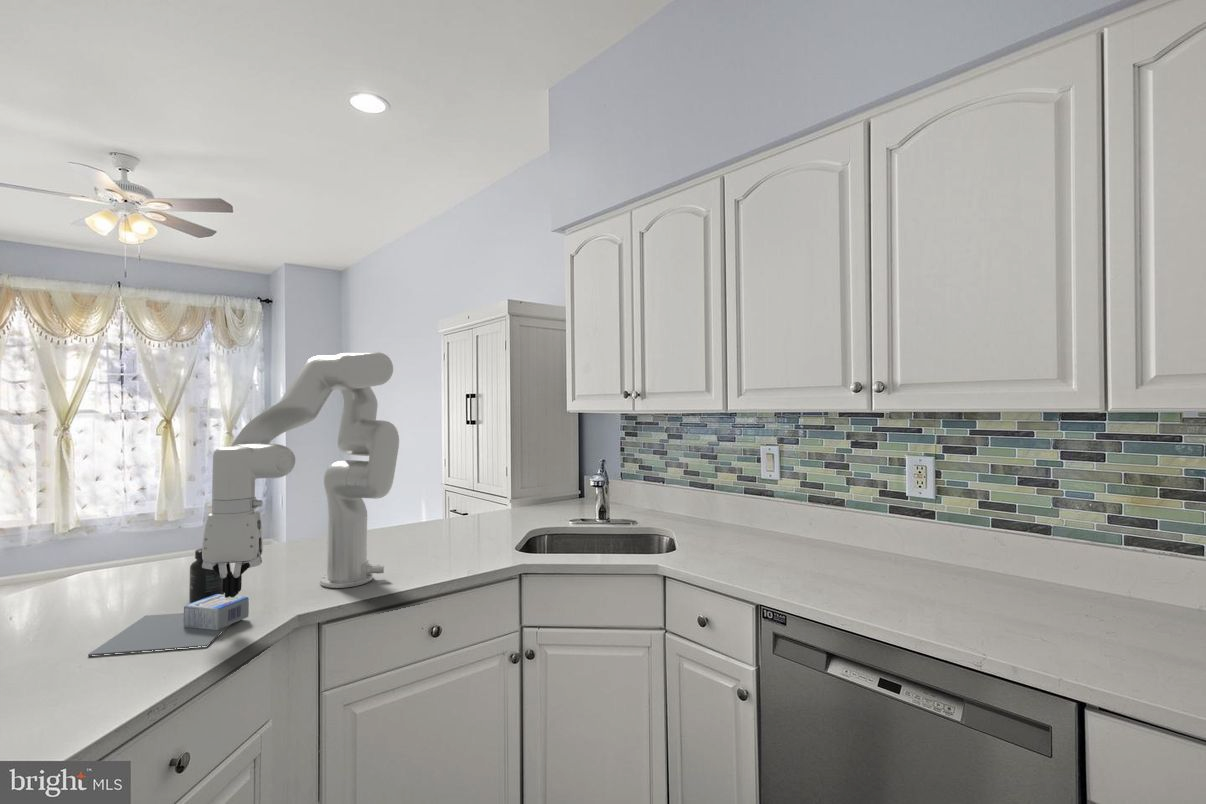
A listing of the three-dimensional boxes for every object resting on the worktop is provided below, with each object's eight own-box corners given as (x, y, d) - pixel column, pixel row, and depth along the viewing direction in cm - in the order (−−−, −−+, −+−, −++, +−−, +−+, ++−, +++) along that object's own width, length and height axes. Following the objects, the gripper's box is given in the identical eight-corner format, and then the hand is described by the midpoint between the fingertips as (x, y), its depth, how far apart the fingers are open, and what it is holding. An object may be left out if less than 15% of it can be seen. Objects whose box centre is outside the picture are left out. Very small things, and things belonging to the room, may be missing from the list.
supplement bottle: (185, 600, 136) (186, 549, 137) (218, 593, 142) (219, 544, 142) (194, 607, 132) (195, 554, 132) (228, 599, 137) (229, 548, 137)
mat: (244, 611, 130) (244, 609, 130) (206, 647, 110) (206, 645, 110) (145, 617, 125) (145, 615, 125) (88, 657, 106) (88, 654, 106)
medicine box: (218, 609, 117) (182, 605, 119) (217, 631, 117) (182, 626, 119) (249, 596, 125) (215, 593, 127) (249, 617, 125) (215, 613, 127)
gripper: (278, 502, 126) (277, 587, 126) (199, 504, 122) (198, 592, 122) (268, 508, 119) (266, 598, 119) (184, 510, 115) (182, 604, 115)
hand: (231, 595), depth 120 cm, fingers closed
